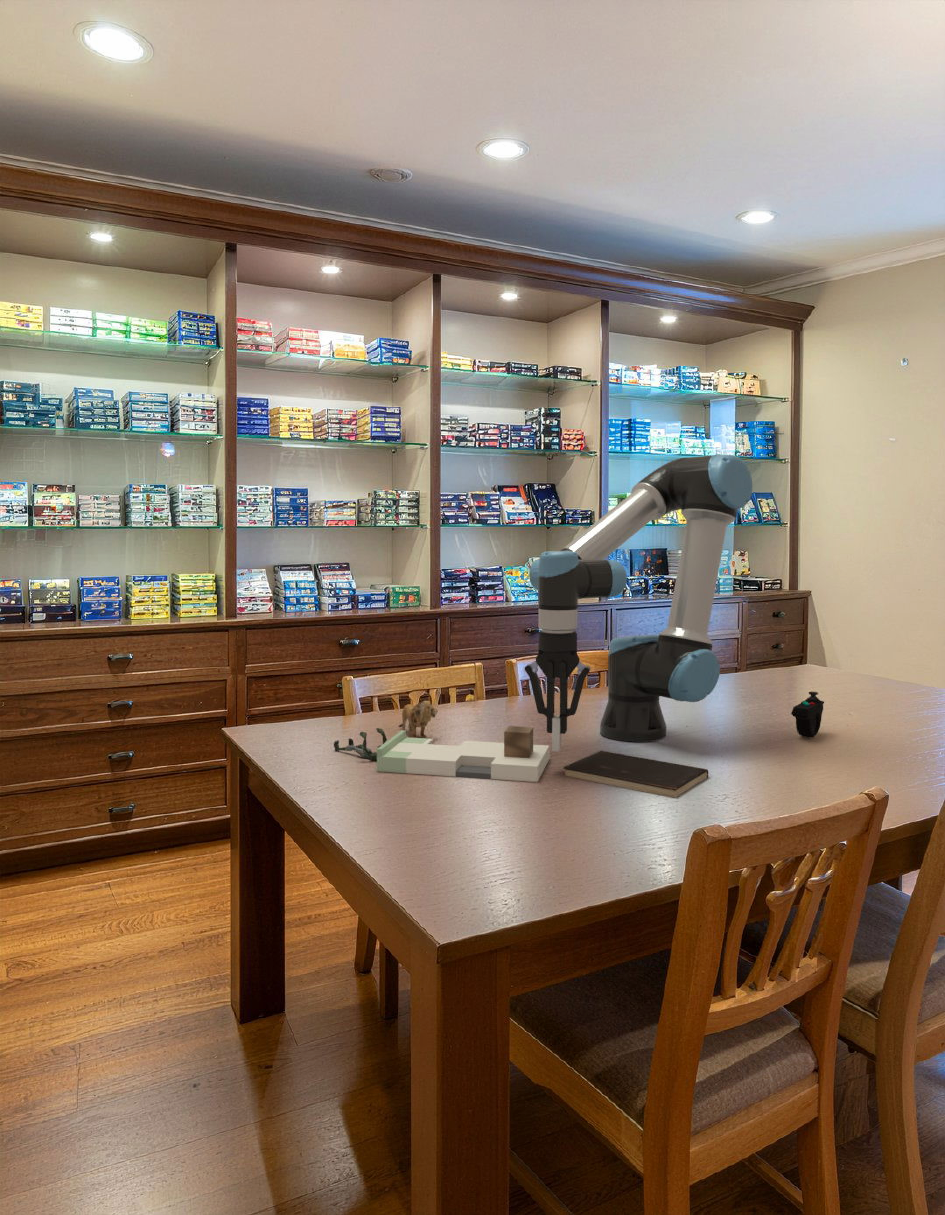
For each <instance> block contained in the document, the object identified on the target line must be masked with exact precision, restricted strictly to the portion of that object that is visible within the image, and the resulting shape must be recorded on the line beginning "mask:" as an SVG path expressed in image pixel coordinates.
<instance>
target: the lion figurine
mask: <svg viewBox="0 0 945 1215" xmlns="http://www.w3.org/2000/svg"><path fill="white" fill-rule="evenodd" d="M438 711H439V710H438V709H436V708H435V707H434V706H433V705H432V704H431V701H429V700H422V701H420V702H418V703H417V704H415V705H414V704H409V703H408V704H406V705H404V707H403V708H402V713H401V717H402V723H401V724H399V725H398V728H401V730H406V727H407V728H408V730H409V731H411V738H418V736H417V728H420V732H419V737H420V738H426V739H427V735H426V734H425V729H426V726H427V725H428V723H429V722H431V720H432V718H433V719H435V718H436V715H437V714H438ZM407 721H408V726H406V724H407Z"/></svg>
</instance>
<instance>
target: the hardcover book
mask: <svg viewBox="0 0 945 1215" xmlns="http://www.w3.org/2000/svg"><path fill="white" fill-rule="evenodd" d="M562 769H563V770H564V771H565V774H564V775H565V777H569V778H575V779H578V780H579V779H580V780H584V781H590V782H594V783H600V784H604V785H609V786H610V785H611V786H614V787H620V788H625V789H629V790H635V791H640V792H646V793H648V794H649V793H650V794H654V795H659V794H660V795H661V796H664V795H666V796H665V797H669V796H670V798H676V797H678V796H679V795H681V794H682V793H684V792H686V791H687V790H689V789H690V788H689V787H691V788H692V787H694V786H695V785H698V784H699V783H700V782H702V781H703V780H705V779H707V778H709V770H708V769H707V768H703V767H702V768H701V767H697V766H692V765H691V766H690V765H685V764H680V763H674V762H667V761H662V760H656V759H651V758H647V757H645V758H644V757H641V756H640V757H638V756H634V755H627V754H623V753H618V752H617V753H616V752H610V751H604V750H599V751H597V752H594V753H593V754H590V755H588V756H585V757H584V758H581V759H578V760H577V761H575V762H572V763H569V764H568V765H565V766H563V767H562ZM706 777H707V778H706ZM701 780H702V781H701ZM699 781H700V782H699ZM698 782H699V783H698ZM688 788H689V789H688ZM677 795H678V796H677Z"/></svg>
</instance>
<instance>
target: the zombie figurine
mask: <svg viewBox="0 0 945 1215" xmlns="http://www.w3.org/2000/svg"><path fill="white" fill-rule="evenodd" d="M375 730H376V732H377V733H379V734H380V735H381V736H382V744H380V745H378V746H377V747H376V749H377V748H379V747H380V746H381V745H383V744H384V743H385V742H387V741H388V740H387V737H386V734H385V732H384V729H383V728H380V727H377V728H375ZM367 735H368V733H367V732H364V731H361V732H360V733H359V736H360V737H361V738H363V742H362V744H358V745H355V743H354V739H352V738H351V737H349V738H348V745H345V747H340V744H339V743H340V741H339V740H338V739H337V740H335V741H333V748H334V752H339V751H343V752H352V751H355V752H357V753H358V754H359V756H360V758H362V759H368V760H371V761H377V751H376V752H375V751H374V752H373V751H372V749H371V748H370V747H367V746H368V745H367V743H368V742H367Z"/></svg>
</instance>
